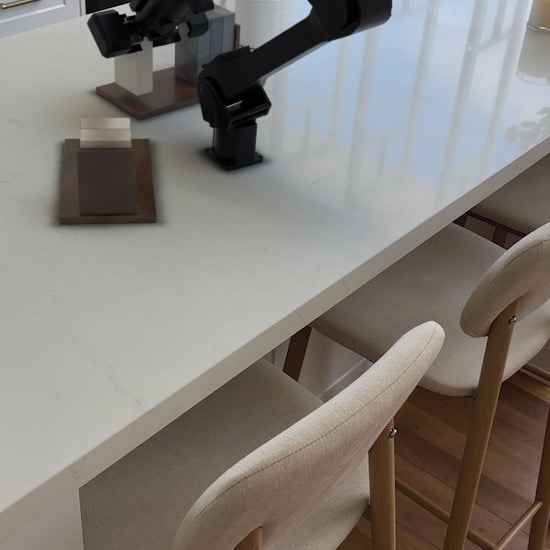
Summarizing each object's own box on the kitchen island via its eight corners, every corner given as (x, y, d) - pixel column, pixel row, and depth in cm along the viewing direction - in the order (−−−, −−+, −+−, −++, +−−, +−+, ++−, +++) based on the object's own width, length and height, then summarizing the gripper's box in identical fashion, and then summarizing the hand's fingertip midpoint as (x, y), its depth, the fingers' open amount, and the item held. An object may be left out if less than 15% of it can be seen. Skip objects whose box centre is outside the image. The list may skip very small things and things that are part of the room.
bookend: (248, 87, 149) (253, 17, 142) (140, 120, 136) (139, 44, 129) (203, 63, 156) (205, -5, 149) (95, 92, 142) (92, 19, 136)
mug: (207, 38, 166) (209, -17, 160) (228, 26, 172) (231, -28, 166) (265, 53, 162) (269, -3, 156) (284, 39, 168) (289, -15, 162)
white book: (153, 91, 139) (152, 29, 133) (137, 96, 137) (136, 33, 131) (130, 78, 142) (129, 17, 136) (114, 82, 140) (112, 20, 135)
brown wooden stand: (149, 144, 129) (149, 73, 123) (156, 222, 112) (156, 144, 106) (65, 144, 127) (60, 72, 121) (59, 224, 110) (53, 144, 104)
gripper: (199, -61, 130) (154, -7, 143) (91, -43, 119) (52, 13, 132) (232, 8, 130) (184, 56, 143) (126, 32, 119) (84, 81, 132)
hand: (128, 50), depth 137 cm, fingers closed on white book, 3 cm apart
